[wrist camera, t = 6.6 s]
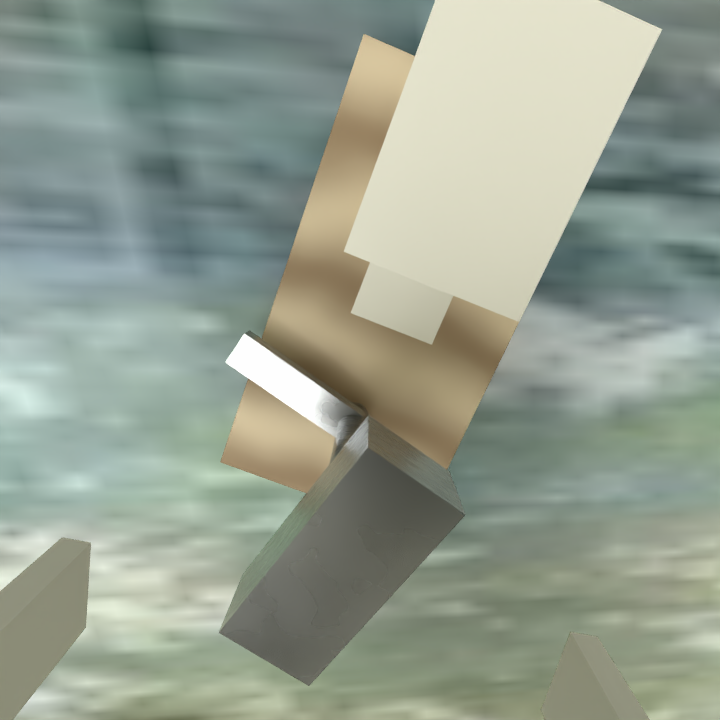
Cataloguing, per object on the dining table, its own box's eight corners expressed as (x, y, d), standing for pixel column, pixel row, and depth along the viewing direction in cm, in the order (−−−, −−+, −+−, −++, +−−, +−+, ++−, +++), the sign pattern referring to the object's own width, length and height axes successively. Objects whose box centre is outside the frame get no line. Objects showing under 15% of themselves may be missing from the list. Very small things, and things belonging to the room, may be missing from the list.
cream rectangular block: (444, 346, 24) (484, 393, 16) (335, 304, 24) (315, 327, 15) (544, 124, 22) (661, 29, 13) (422, 71, 21) (459, -64, 12)
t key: (416, 382, 25) (465, 514, 12) (339, 477, 26) (308, 685, 13) (283, 286, 23) (175, 314, 11) (211, 391, 25) (42, 528, 12)
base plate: (413, 514, 29) (416, 532, 28) (230, 448, 29) (220, 462, 27) (588, 150, 24) (607, 140, 22) (364, 53, 23) (364, 33, 21)
